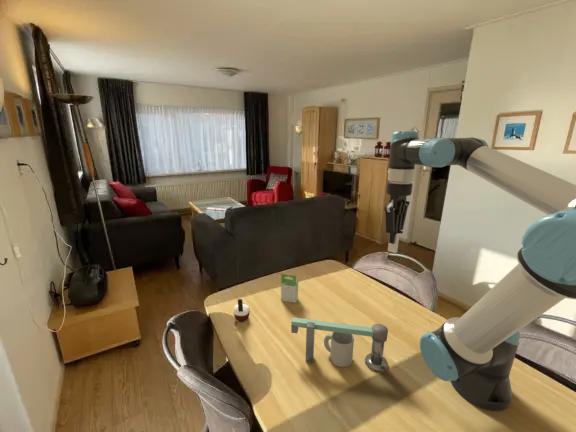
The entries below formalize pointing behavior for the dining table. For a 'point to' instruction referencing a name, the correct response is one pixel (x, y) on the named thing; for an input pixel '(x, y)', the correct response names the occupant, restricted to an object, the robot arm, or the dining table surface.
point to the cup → (340, 348)
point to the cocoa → (241, 311)
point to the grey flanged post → (376, 358)
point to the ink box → (289, 288)
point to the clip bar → (344, 328)
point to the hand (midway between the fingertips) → (392, 251)
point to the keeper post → (310, 341)
